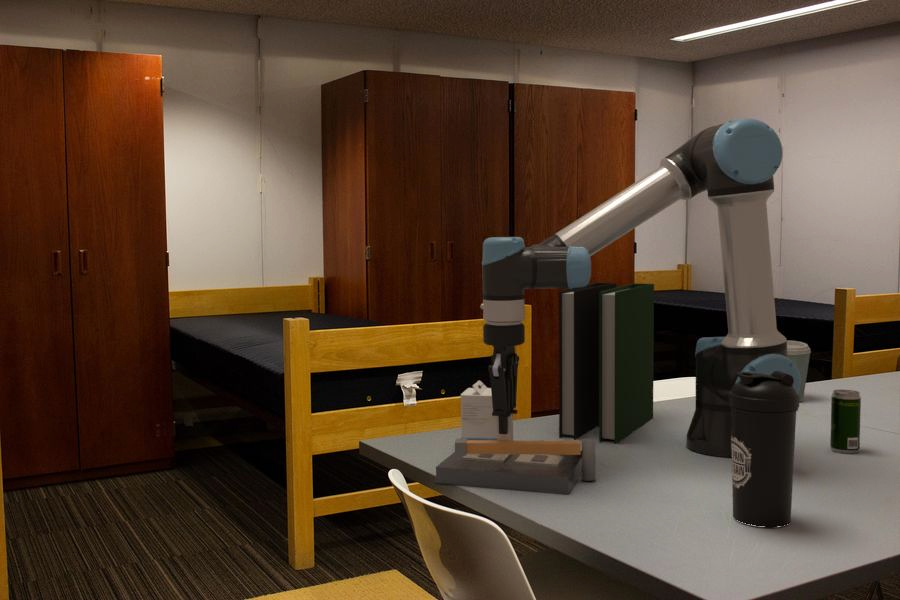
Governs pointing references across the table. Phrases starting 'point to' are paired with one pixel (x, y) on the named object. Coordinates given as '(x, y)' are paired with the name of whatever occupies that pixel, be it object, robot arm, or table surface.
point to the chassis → (512, 471)
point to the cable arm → (533, 450)
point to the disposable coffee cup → (799, 361)
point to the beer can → (845, 421)
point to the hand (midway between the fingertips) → (505, 449)
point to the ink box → (478, 414)
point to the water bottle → (763, 447)
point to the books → (606, 359)
